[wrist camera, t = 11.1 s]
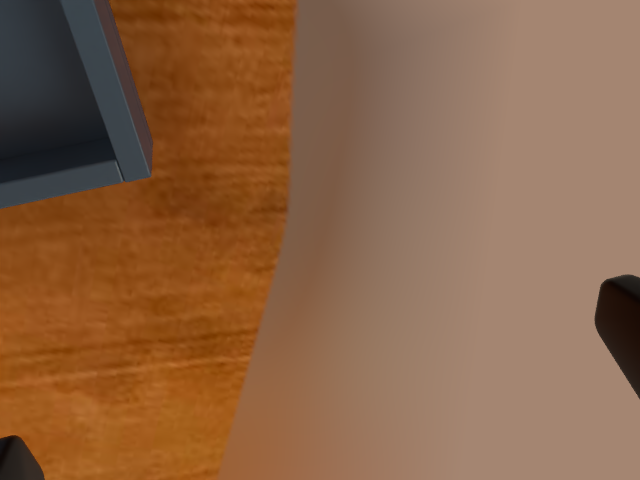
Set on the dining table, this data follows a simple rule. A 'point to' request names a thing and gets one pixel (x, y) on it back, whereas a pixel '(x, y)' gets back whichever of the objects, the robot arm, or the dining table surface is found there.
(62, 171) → the tray
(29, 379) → the dining table surface
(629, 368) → the robot arm
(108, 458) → the dining table surface
